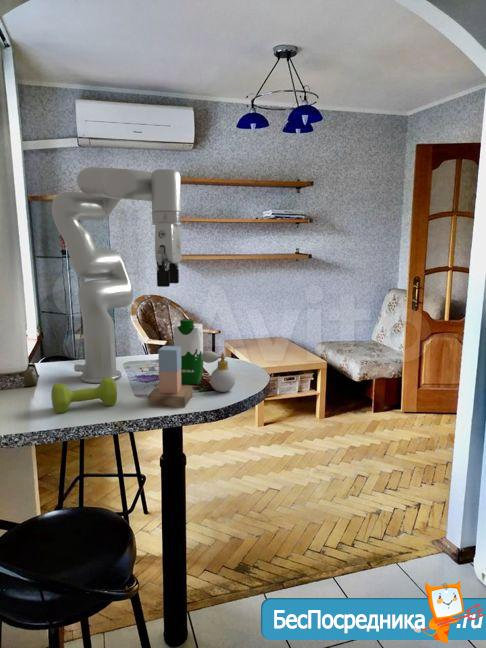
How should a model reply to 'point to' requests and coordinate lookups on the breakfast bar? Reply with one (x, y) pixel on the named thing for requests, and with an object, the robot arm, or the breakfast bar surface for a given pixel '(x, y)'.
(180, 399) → the walnut base
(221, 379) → the perfume bottle
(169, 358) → the slate block
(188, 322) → the milk carton
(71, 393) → the dumbbell
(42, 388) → the breakfast bar surface
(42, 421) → the breakfast bar surface
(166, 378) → the terracotta block
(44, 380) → the breakfast bar surface
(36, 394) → the breakfast bar surface
